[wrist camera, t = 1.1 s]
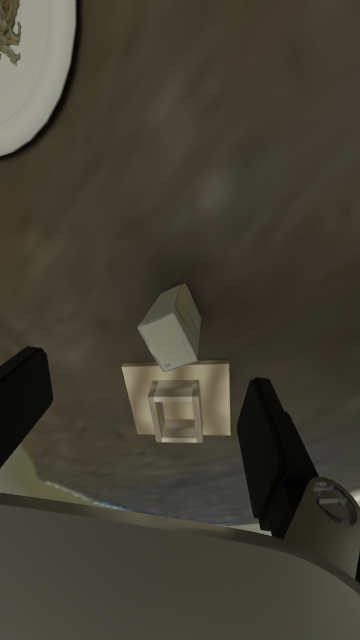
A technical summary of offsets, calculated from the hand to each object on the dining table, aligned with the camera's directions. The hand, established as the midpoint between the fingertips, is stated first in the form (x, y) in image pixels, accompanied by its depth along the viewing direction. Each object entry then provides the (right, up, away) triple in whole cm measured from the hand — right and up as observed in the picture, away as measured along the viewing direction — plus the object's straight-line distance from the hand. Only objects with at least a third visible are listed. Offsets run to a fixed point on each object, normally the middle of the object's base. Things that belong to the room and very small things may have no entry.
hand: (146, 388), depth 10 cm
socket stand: (+1, -11, +31) cm, 33 cm away
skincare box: (+2, +5, +24) cm, 25 cm away
